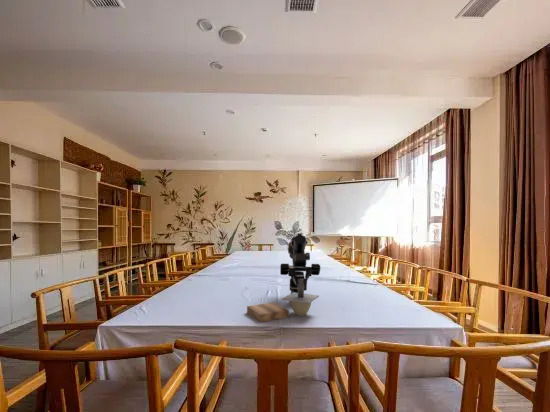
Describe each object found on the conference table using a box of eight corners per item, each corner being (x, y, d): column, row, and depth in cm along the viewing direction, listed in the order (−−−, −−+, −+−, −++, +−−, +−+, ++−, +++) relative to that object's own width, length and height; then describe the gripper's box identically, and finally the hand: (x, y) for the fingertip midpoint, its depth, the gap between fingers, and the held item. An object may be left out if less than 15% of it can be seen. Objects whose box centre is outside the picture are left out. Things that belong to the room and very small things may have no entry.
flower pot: (310, 318, 126) (310, 301, 126) (288, 316, 128) (288, 300, 128) (312, 311, 136) (312, 296, 136) (291, 310, 138) (291, 294, 138)
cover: (293, 293, 141) (293, 275, 141) (318, 296, 135) (318, 278, 135) (281, 299, 129) (281, 280, 130) (309, 303, 123) (309, 283, 124)
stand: (273, 308, 140) (273, 302, 140) (288, 317, 128) (288, 310, 128) (247, 312, 133) (247, 306, 133) (260, 322, 121) (260, 314, 121)
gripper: (280, 246, 137) (280, 274, 126) (319, 246, 137) (323, 274, 126) (280, 260, 145) (280, 288, 133) (317, 261, 145) (320, 288, 133)
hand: (301, 284), depth 131 cm, fingers open, 4 cm apart
